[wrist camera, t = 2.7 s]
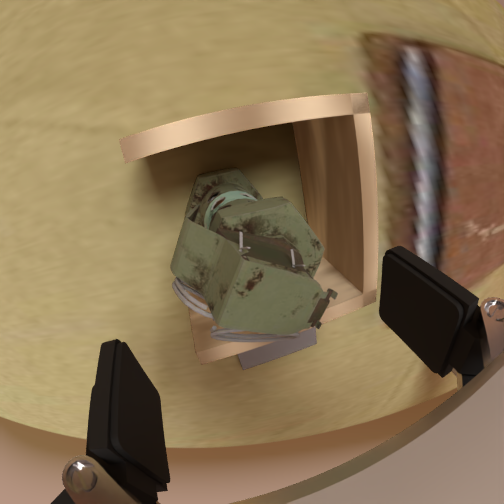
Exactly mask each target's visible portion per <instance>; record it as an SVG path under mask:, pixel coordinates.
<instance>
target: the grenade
mask: <svg viewBox="0 0 504 504" xmlns="http://www.w3.org/2000/svg"><path fill="white" fill-rule="evenodd" d="M324 249H325V248H324V247H323V245H322V244H321V242H320V240H319V239H318V238H317V236H316V235H315V233H314V232H313V231H312V229H311V228H310V226H309V225H308V224H307V222H306V221H305V220H304V218H303V217H302V216H301V214H300V213H299V212H298V211H297V209H296V208H295V207H294V206H293V204H292V203H291V202H290V201H288V200H286V199H285V198H283V197H275V198H267V199H263V198H262V197H261V195H260V194H259V193H258V191H257V190H256V189H255V188H254V187H253V185H252V184H251V183H250V182H249V181H248V179H247V178H246V177H245V176H244V175H243V174H242V172H241V171H240V170H239V169H237V168H231V169H225V170H220V171H215V172H211V173H206V174H202V175H199V176H197V179H196V181H195V184H194V187H193V190H192V193H191V196H190V199H189V202H188V205H187V209H186V216H185V219H184V223H183V226H182V229H181V232H180V236H179V239H178V242H177V245H176V249H175V252H174V256H173V259H172V263H171V271H172V273H173V274H174V275H175V276H176V278H175V281H174V282H173V283H172V287H173V289H174V291H175V293H176V294H177V296H178V297H179V299H180V300H181V301H182V302H183V303H184V304H185V305H186V306H188V307H189V308H191V309H192V310H193V311H195V312H197V313H199V314H201V315H203V316H205V317H208V318H212V319H213V321H215V322H216V324H217V325H218V326H220V327H223V329H218V330H216V329H217V327H216V326H213V327H212V328H211V329H210V331H211V335H210V336H211V338H213V339H216V340H222V341H231V342H274V341H284V340H291V339H296V338H299V337H300V334H299V333H298V332H299V331H301V330H303V329H309V328H310V327H314V326H315V327H317V328H318V329H319V328H320V326H321V324H322V323H321V322H320V319H321V317H322V316H323V314H324V312H325V310H326V308H327V306H328V304H329V303H330V300H329V298H330V297H332V298H333V299H334V300H335V299H336V297H337V295H338V293H337V292H336V291H334V290H332V289H330V288H329V289H328V290H327V292H323V290H322V288H321V285H320V284H319V283H318V282H317V281H316V280H314V279H313V278H314V276H315V274H316V271H317V269H318V267H319V265H320V262H321V259H322V256H323V253H324ZM180 282H181V283H180ZM182 283H184V284H186V285H184V284H182ZM187 285H188V286H187ZM189 286H190V287H189ZM191 287H192V288H193V289H192V288H191ZM194 289H195V290H194ZM186 290H187V291H189V292H191V293H193V294H195V295H197V296H199V297H201V298H202V299H204V300H205V301H206V303H207V305H208V306H207V305H205V304H203V303H201V302H199V301H198V300H196V299H195V298H193V297H192V296H191V295H190V294H189V293H188V292H187V291H186ZM180 291H181V292H180ZM182 294H183V295H184V296H185V297H186V298H187V299H188V300H190V301H191V302H192V303H194V304H195V305H197V306H198V307H200V308H202V309H204V310H206V309H207V307H209V309H210V311H211V313H209V312H206V311H204V310H202V309H200V308H198V307H196V306H194V305H193V304H192V303H190V302H189V301H188V300H187V299H186V298H185V297H184V296H183V295H182ZM243 331H250V332H259V333H267V334H235V333H232V332H243ZM218 335H219V336H218ZM224 336H225V337H224ZM281 336H283V337H281ZM232 337H234V338H232ZM269 337H274V338H269Z"/></svg>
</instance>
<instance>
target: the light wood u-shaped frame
mask: <svg viewBox="0 0 504 504" xmlns="http://www.w3.org/2000/svg"><path fill="white" fill-rule="evenodd" d="M288 122H292V124H293V130H294V136H295V142H296V148H297V154H298V160H299V166H300V173H301V180H302V187H303V194H304V201H305V208H306V216H307V224H308V225H309V226H310V228H311V229H312V231H313V232H314V233H315V235H316V236H317V238H318V239H319V240H320V242H321V244H322V245H323V247H324V248H325V249H324V253H323V256H322V259H321V262H320V265H319V267H318V269H317V271H316V274H315V276H314V278H313V279H314V280H316V281H317V282H318V283H319V284H320V285H321V288H322V290H323V292H327V290H328V289H329V288H330V289H332V290H334V291H336V292H337V293H338V295H337V297H336V299H335V300H334V299H333V298H332V297H330V298H329V300H330V303H329V304H328V306H327V308H326V310H325V312H324V314H323V316H322V317H321V319H320V322H321V323H322V324H324V323H326V322H329V321H331V320H334V319H336V318H339V317H341V316H343V315H346V314H348V313H351V312H353V311H355V310H358V309H360V308H362V307H364V306H367V305H369V304H371V303H374V302H376V292H377V271H378V199H377V179H376V164H375V152H374V142H373V133H372V124H371V116H370V109H369V102H368V96H367V93H352V94H335V95H322V96H311V97H302V98H293V99H285V100H278V101H271V102H265V103H258V104H253V105H247V106H241V107H236V108H231V109H226V110H221V111H217V112H212V113H208V114H204V115H199V116H195V117H191V118H187V119H184V120H180V121H176V122H172V123H169V124H165V125H162V126H158V127H155V128H152V129H149V130H145V131H142V132H139V133H136V134H133V135H130V136H127V137H124V138H121V139H119V141H120V145H121V149H122V153H123V156H124V160H125V163H128V162H131V161H134V160H137V159H140V158H143V157H146V156H149V155H152V154H156V153H159V152H162V151H165V150H169V149H172V148H176V147H179V146H183V145H187V144H190V143H194V142H198V141H202V140H206V139H210V138H214V137H218V136H222V135H227V134H231V133H236V132H240V131H245V130H250V129H255V128H260V127H265V126H271V125H276V124H282V123H288ZM185 285H186V284H185ZM187 286H188V285H187ZM189 287H190V286H189ZM191 288H192V287H191ZM192 289H193V288H192ZM194 290H195V289H194ZM186 291H187V290H186ZM187 292H188V293H189V294H190V295H191V296H192V297H193V298H195V299H196V300H198V301H199V302H201V303H203V304H205V305H207V303H206V301H205V300H204V299H202V298H201V297H199V296H197V295H195V294H193V293H191V292H189V291H187ZM187 300H188V299H187ZM188 301H189V302H190V303H192V302H191V301H190V300H188ZM192 304H193V305H194V306H196V307H198V306H197V305H195V304H194V303H192ZM207 306H208V305H207ZM198 308H200V307H198ZM200 309H202V308H200ZM202 310H204V309H202ZM204 311H206V312H209V313H211V311H210V309H209V307H207V309H206V310H204ZM189 313H190V320H191V326H192V333H193V339H194V345H195V351H196V354H197V356H198V358H199V361H200V363H201V365H202V364H206V363H209V362H213V361H216V360H220V359H223V358H226V357H230V356H233V355H236V354H239V353H242V352H245V351H249V350H252V349H255V348H258V347H261V346H264V345H267V344H269V343H272V342H231V341H222V340H216V339H213V338H211V336H210V335H211V331H210V329H211V328H212V327H213V326H216V327H217V329H216V330H218V329H223V327H220V326H218V325H217V324H216V322H215V321H213V319H212V318H208V317H205V316H203V315H201V314H199V313H197V312H195V311H193V310H192V309H191V308H189ZM314 327H315V326H314ZM311 328H313V327H310V328H309V329H311ZM306 330H308V329H303V330H301V331H299V332H298V333H300V332H303V331H306ZM232 333H235V334H267V333H259V332H250V331H243V332H232ZM218 336H219V335H218ZM224 337H225V336H224ZM281 337H283V336H281ZM232 338H234V337H232ZM269 338H274V337H269ZM274 342H275V341H274Z"/></svg>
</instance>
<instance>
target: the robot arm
mask: <svg viewBox="0 0 504 504" xmlns="http://www.w3.org/2000/svg"><path fill="white" fill-rule="evenodd" d="M478 300H479V298H478V297H476V296H475V295H474V294H472V293H471V292H469V291H468V290H467V289H465V288H464V287H462V286H461V285H460V284H458V283H457V282H455V281H454V280H452V279H451V278H450V277H448V276H447V275H445V274H444V273H442V272H441V271H439V270H438V269H436V268H435V267H433V266H432V265H430V264H429V263H427V262H426V261H424V260H423V259H421V258H420V257H418V256H416V255H415V254H413V253H412V252H410V251H409V250H407V249H405V248H404V247H402V246H397V247H394V248H392V249H389V250H387V251H386V253H385V256H384V257H383V264H382V281H381V295H380V306H379V315H380V317H381V319H382V320H383V321H384V322H385V323H386V324H387V325H388V326H389V327H390V328H391V329H392V330H393V331H394V332H395V333H396V334H397V335H398V336H399V337H400V338H401V339H402V340H403V341H404V342H405V344H406V345H407V346H408V347H409V348H410V349H411V350H412V351H413V352H414V353H415V354H416V355H417V356H418V357H419V358H420V359H421V360H422V361H423V362H424V363H425V364H426V365H427V366H428V367H429V368H430V369H431V370H432V371H433V372H434V373H438V374H439V375H440V376H441V377H442V378H443V377H444V376H446V375H447V374H448V373H450V372H451V371H452V372H453V373H454V374H455V375H456V377H457V392H456V393H455V394H454V395H453V396H451V397H450V398H449V399H447V400H446V401H445V402H444V403H442V404H441V405H440V406H438V407H437V408H436V409H434V410H433V411H432V412H430V413H429V414H427V415H426V416H424V417H423V418H422V419H420V420H419V421H417V422H416V423H414V424H413V425H411V426H410V427H408V428H407V429H405V430H403V431H402V432H400V433H399V434H397V435H395V436H394V437H392V438H390V439H389V440H387V441H386V442H384V443H382V444H380V445H378V446H377V447H375V448H373V449H371V450H369V451H367V452H366V453H364V454H362V455H360V456H358V457H356V458H354V459H352V460H350V461H348V462H346V463H344V464H342V465H340V466H337V467H335V468H333V469H331V470H328V471H326V472H324V473H321V474H319V475H317V476H314V477H312V478H309V479H307V480H304V481H302V482H299V483H296V484H294V485H291V486H288V487H285V488H282V489H279V490H277V491H273V492H270V493H267V494H264V495H260V496H257V497H253V498H250V499H246V500H242V501H238V502H234V503H230V504H504V300H503V299H500V298H495V297H491V298H487V299H485V300H484V301H483V302H482V303H481V306H480V307H479V306H478V305H477V304H478ZM62 481H63V485H64V487H65V489H64V490H63V491H62V492H61V494H60V495H59V496H58V497H57V498H56V499H55V500H54V501H53V502H52V503H51V504H160V503H159V502H158V501H157V500H158V497H157V492H161V491H168V490H167V484H166V483H169V482H170V474H169V468H168V461H167V454H166V447H165V439H164V431H163V421H162V412H161V401H160V396H159V393H158V391H157V389H156V388H155V387H154V385H153V384H152V382H151V381H150V379H149V378H148V376H147V375H146V373H145V372H144V370H143V369H142V367H141V366H140V364H139V363H138V361H137V360H136V358H135V356H134V355H133V353H132V352H131V350H130V348H129V347H128V345H127V344H126V343H125V342H122V343H121V341H120V340H118V339H115V340H112V341H108V342H104V343H102V345H101V349H100V355H99V361H98V367H97V374H96V381H95V385H94V386H93V388H92V393H91V401H90V410H89V420H88V431H87V447H86V456H82V455H80V456H77V457H74V458H73V459H71V460H70V461H69V462H68V463H67V464H66V465H65V467H64V470H63V474H62Z"/></svg>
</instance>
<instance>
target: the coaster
mask: <svg viewBox="0 0 504 504" xmlns="http://www.w3.org/2000/svg"><path fill="white" fill-rule="evenodd" d="M299 334H300V337H299V338H296V339H291V340H284V341H275V342H272V343H269V344H267V345H264V346H261V347H258V348H255V349H252V350H249V351H245V352H242V353H239V354H238V357H239V360H240V363H241V366H242V369H243V370H245V369H248V368H251V367H254V366H257V365H260V364H263V363H266V362H269V361H272V360H274V359H277V358H280V357H283V356H286V355H288V354H291V353H294V352H296V351H299V350H302V349H304V348H307V347H310V346H312V345H315V344H317V341H316V328H315V327H313V328H311V329H308V330H306V331H303V332H300V333H299Z"/></svg>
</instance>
